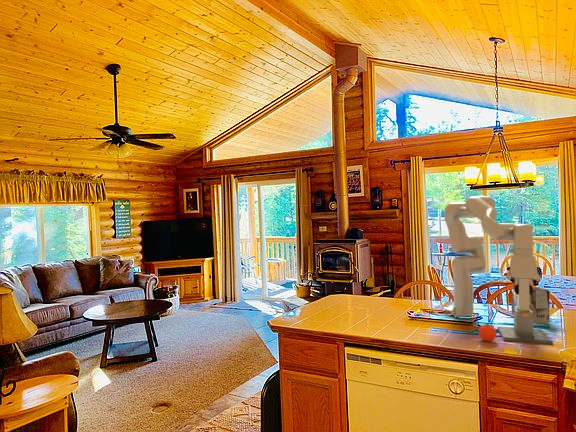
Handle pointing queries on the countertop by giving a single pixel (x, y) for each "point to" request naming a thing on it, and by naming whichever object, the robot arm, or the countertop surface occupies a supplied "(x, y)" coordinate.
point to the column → (523, 295)
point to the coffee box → (539, 305)
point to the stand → (524, 330)
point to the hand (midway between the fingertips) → (523, 293)
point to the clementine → (487, 332)
